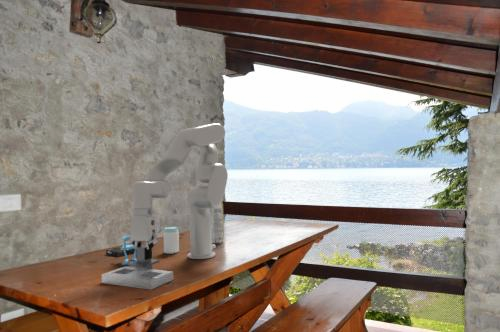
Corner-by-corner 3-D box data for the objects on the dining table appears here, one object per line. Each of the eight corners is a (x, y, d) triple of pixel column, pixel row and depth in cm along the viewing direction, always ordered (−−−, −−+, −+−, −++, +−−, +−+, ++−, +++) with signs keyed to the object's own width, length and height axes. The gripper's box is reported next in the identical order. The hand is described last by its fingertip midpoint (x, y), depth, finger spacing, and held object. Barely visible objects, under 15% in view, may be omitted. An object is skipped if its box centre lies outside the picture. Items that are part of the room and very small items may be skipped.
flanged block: (143, 266, 158) (142, 243, 158) (159, 268, 155) (159, 245, 155) (128, 272, 151) (128, 248, 151) (145, 274, 147) (145, 249, 147)
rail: (125, 274, 148) (125, 266, 148) (173, 279, 138) (172, 271, 138) (101, 282, 137) (101, 274, 137) (151, 289, 128) (151, 280, 128)
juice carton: (224, 240, 211) (223, 196, 211) (222, 243, 203) (221, 198, 203) (207, 240, 212) (206, 197, 212) (204, 243, 204) (203, 198, 204)
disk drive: (118, 258, 178) (145, 251, 190) (118, 252, 178) (144, 246, 190) (105, 255, 184) (131, 249, 196) (105, 249, 184) (131, 244, 196)
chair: (139, 259, 173) (138, 232, 173) (141, 263, 165) (140, 235, 165) (121, 261, 170) (120, 233, 170) (122, 265, 162) (121, 236, 162)
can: (175, 254, 180) (174, 228, 180) (161, 254, 181) (160, 228, 181) (181, 251, 187) (180, 226, 187) (167, 251, 188) (167, 226, 188)
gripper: (165, 211, 153) (167, 258, 153) (133, 210, 160) (134, 255, 160) (153, 214, 146) (154, 262, 146) (119, 212, 153) (121, 259, 153)
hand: (144, 258), depth 153 cm, fingers closed on flanged block, 4 cm apart
